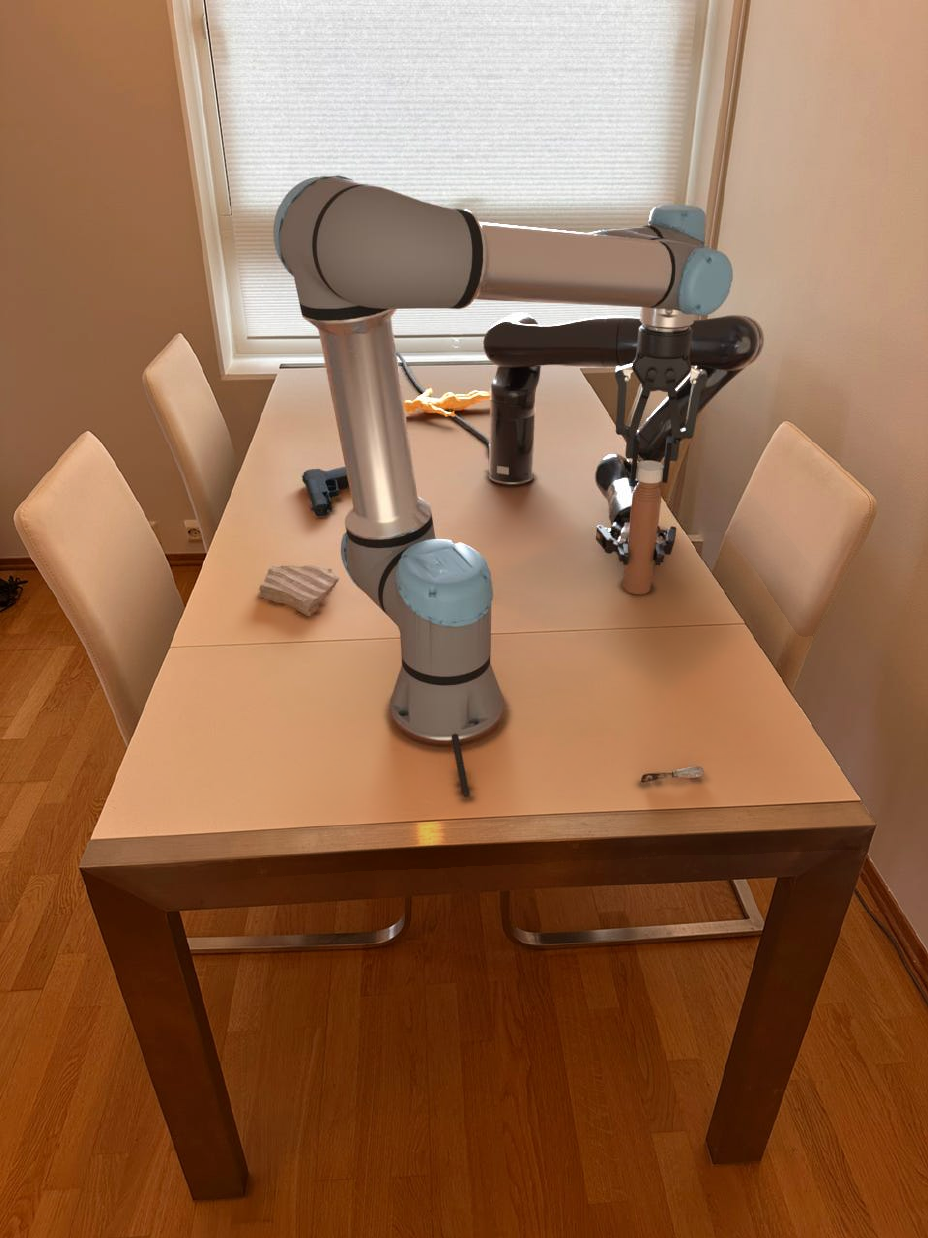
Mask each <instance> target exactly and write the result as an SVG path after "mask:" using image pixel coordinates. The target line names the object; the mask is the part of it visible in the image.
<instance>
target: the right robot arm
mask: <svg viewBox="0 0 928 1238" xmlns="http://www.w3.org/2000/svg"><path fill="white" fill-rule="evenodd" d="M641 325H642V322H641V321H640V316H638V315H637V316H634V315H605V316H595V317H590V318H584V319H583V318H582V319H579V320H574V321H569V322H565V323H559V324H553V325H551V324H550V325H540V324H539V323H538V322H537V320H536V319H535V318H534V317H532V316H531V315H530V314H528V313H526V312H525V313H524V312H514V313H512V314H510V315H507V316H505V317H503V318H502V319H500V320H498V321H497V322H496V323H494V324H493V325H491V327H489V329H488V330H487V331H486V333H485V334H484V337H483V341H482V349H483V352H484V355H485V357H486V358H487V359H488V361H490V363H491V364H493V365H495V366H497V368H496V373H495V375H494V378H493V379H492V381H491V382H490V383H491V384H490V386H489V387H490V388H489V392H490V399H489V437H488V436H486V435H484V434H483V433H482V432H480V431H479V430H478V429H476V428H475V427H473V426H472V425H471V424H469V423H468V422H467V421H465V420H464V419H462V418H461V417H460V416H458V415H457V414H455V416H454V417H452V416H451V415H449V416H450V417H452V418H453V419H454V420H456V421H457V422H459V423H460V424H461V425H463V426H464V427H466V428H467V429H468V430H470V431H471V432H472V433H473V434H474V435H476V436H477V437H479V438H480V439H481V440H483V441H484V442H485V443H486V444H487V446H488V455H489V459H488V464H489V465H488V470H489V471H488V478H489V480H490V481H491V482H493V483H495V484H499V485H503V486H521V485H525V484H528V483H529V482H531V481H533V479H534V455H535V453H534V451H535V430H536V429H535V428H536V427H535V426H536V400H537V398H536V397H537V390H538V387H539V383H540V379H541V371H542V370H541V369H542V367H543V366H544V367H545V366H562V367H574V368H593V369H594V368H595V369H596V368H597V369H616V367H617V366H622V367H624V366H627V365H630V364H632V362H633V360H634V358H635V357H636V353H637V343H638V333H639V327H641ZM690 327H691V329H692V339H691V347H690V355H689V360H690V362H691V366H692V367H694V368H696V369H698V370H701V369H704V370H706V373H707V381H706V382H705V384H704V386H703V388H702V389H701V394H700V399H699V405H698V411H697V417H696V419H697V418H698V417H699V415H700V414H701V413H702V412H703V410H704V409H705V408H706V407H707V405H709V403H710V402H711V401H712V400H713V399H714V398H715V397H716V395H718V394H719V393H720V392H721V391H722V390H723V388H724V387H726V386H727V384H729V382H731V381H732V380H733V379H734V378H736V376H738V375H739V374H740V373H741V372H743V370H745V369H746V368H747V367H750V365H752V364H753V363H754V362H756V360H757V359H759V357H760V355H761V354H762V351H763V348H764V344H765V334H764V330H763V328H762V327H761V325H760V323H758V322H757V320H755V319H754V318H752V317H749V316H747V315H742V314H730V315H724V316H720V317H719V316H718V317H712V318H704V319H694V322H693V324H692V325H690ZM396 354H397V358H399V360H400V361H401V363H402V366H403V368H404V370H405V372H406V374H407V376H408V377H409V379H410V381H412V384H413V385H415V387H416V388H417V389H418V391H419V392H421V394H423V393H425V390H426V389H424V388H423V387H422V386H421V385H420V384H419V382H418V381H417V380H416V379H415V377H414V376H413V374H412V372H411V371H410V369H409V366H408V365H407V363H406V360H405V359H404V357H403V355H401V353H400V352H398V351H396ZM691 387H692V384H691V382H690V375H689V374H688V375H687V376H686V377H685V378H684V380H683V381H682V382H681V383H680V384H679V385H678V386H677V387H676V395H677V405H678V416H679V426H680V429H682V428H685V424H686V418H687V412H688V406H689V399H690V393H691ZM428 397H429V398H433V396H431V394H429V396H428ZM445 411H446V412H452V411H451V410H448V409H447V410H445ZM636 435H640V443H639V452H638V457H640V459H641V461H656V462H660V463H661V462H662V461H663V460H664V456H665V448H666V439H667V436H669V437H672V430H671V420H670V410H669V400H668V396H666V397H665V399H664V400H663V401H662V402H661V403H659V405H658V406H657V407H656V408H655V409H653V411H652V412H651V413H650V415H649V416H648V417H646V419H645V420H644V422H643V423H642V425H641V426H640V427H638V430H637V433H636ZM631 467H632V460H630V459H628V458H626V456H623V455H621V454H619V453H609V454H606V455H605V456H603V457H602V458H601V459H600V460H599V461H598V463H597V465H596V467H595V471H594V481H595V485H596V487H597V488H598V490H599V492H600V493H601V494H602V496H603V497H604V498H605V499H606V501H607V504H608V518H609V521H610V525H611V526H610V527H605V526H604V525H603V524H597V525H596V530H595V541H596V542H597V543H598V544H599V546H600V547H601V548H602V549H603V551H604V552H605V553H606V554H609V555H610V554H613V552H614V553H616V555H617V558H618V559H617V560H618V561H619V562H620V563H622V565H623V566H625V565H628V559H629V552H628V547H627V542H628V532H629V522H630V513H631V503H632V494H633V491H634V489H635V488H636V486H637V483H638V482H639V481H638V480H637V479H636V481H631ZM677 529H678V528H677V527H676V526H672V525H671V526H669V527H668V528H667V529H663V528H661V526H660V525H658V530H657V538H656V546H655V555H654V565H655V566H656V567H659V566H661V564H663V563H664V562H665V556H668V555H669V556H670V555H672V553H673V549H674V546H675V543H676V536H677ZM661 538H662V539H661ZM663 540H664V541H663Z"/></svg>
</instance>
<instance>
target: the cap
mask: <svg viewBox="0 0 928 1238" xmlns="http://www.w3.org/2000/svg"><path fill="white" fill-rule="evenodd" d="M663 464H664V463H661V462H656V461H643V460H641V461H638V462H637V471H636V479H637V480H638V481H640V482H644V483H658V484H659V483H661V482H662V479H663V470H664V465H663Z"/></svg>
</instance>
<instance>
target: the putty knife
mask: <svg viewBox="0 0 928 1238" xmlns="http://www.w3.org/2000/svg"><path fill="white" fill-rule="evenodd" d="M704 772H705V771H704V768H702V767H701V766H697V765H695V766H688V767H683V768H679V769H675V770H673V771H671V772H653V773H652V772H651V773H650V772H649V773H644V774H642V776H641V779H640V783H642V784H645V783H648V782H653V781H659V780H665V779H668V778H673V779H674V778H675V779H693V778H694V779H695V778H700V777H702V776H703V775H704Z"/></svg>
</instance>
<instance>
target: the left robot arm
mask: <svg viewBox="0 0 928 1238" xmlns="http://www.w3.org/2000/svg"><path fill="white" fill-rule="evenodd" d="M706 222H707V214H706V213H705V211H704V210H703V208H700V207H698V206H695V205H686V204H663V205H658V206H655V207H653V208H652V209H651V210H650V214H649V220H648V221H647V225H644V226H639V227H638V226H637V227H627V228H617V229H616V228H614V229H604V228H603V229H599V230H597V231H592V232H586V233H585V232H577V231H567V230H558V229H551V228H550V229H549V228H541V227H531V226H530V227H529V226H519V225H511V224H502V223H501V224H500V223H490V222H483V221H480V220H479V219H478V217H477V215H476V214H474V212H472V211H471V210H468V209H463V208H453V207H448V206H447V207H446V206H442V205H438V204H434V203H431V202H428V201H424V200H421V199H418V198H415V197H413V196H409V195H407V194H403V193H401V192H398V191H395V190H393V189H390V188H387V187H384V186H379V185H373V184H369V183H366V182H361V181H357V180H353V179H351V178H349V177H346V176H343V175H318V176H313V177H309V178H307V179H305V180H302V181H300V182H298V183H297V184H296V185H294V186H293V187H292V188H291V189H290V190H289V191H288V192H287V193H286V194H285V196H284V197H283V198H282V201H281V202H280V204H279V205H278V208H277V209H276V212H275V216H274V221H273V229H272V231H273V232H272V235H273V244H274V248H275V251H276V254H277V257H278V259H279V260H280V262H281V263H282V266H283V267H284V269H285V270H286V271H287V272H288V273H289V275H291V276H292V277H293V280H294V285H295V288H296V293H297V298H298V299H297V300H298V303H299V308H300V314H301V317H302V319H304V320H305V321H307V322H308V323H310V324H311V325H312V326H314V327H315V328H316V329H317V331H318V335H319V340H320V346H321V351H322V356H323V361H324V367H325V370H326V371H325V372H326V376H327V381H328V385H329V391H330V395H331V397H330V398H331V401H332V406H333V411H334V418H335V421H336V427H337V432H338V438H339V442H340V448H341V452H342V456H343V463H344V467H345V468H346V473H347V478H348V483H349V488H348V489H349V493H350V497H351V502H352V508H350V510H349V511H348V512H347V514H346V515H345V518H344V526H345V533H343V535H342V537H341V538H342V539H341V541H340V556H341V561H342V564H343V567H344V569H345V571H346V572H347V574H348V576H349V578H350V579H351V581H352V582H353V584H355V586H356V587H357V588H358V589H360V590H361V591H362V592H363V593H364V594H365V595H366V596H367V597H368V598H369V599H370V600H371V601H372V602H374V604H375V605H376V606H377V607H378V608H379V609H380V610H381V611H382V612H383V613H384V614H385V615H386V616H387V617H388V618H389V619H390V620H391V621H392V622H393V623H394V624H395V625H396V626H397V628H398V631H399V633H400V634H399V635H400V652H401V653H400V655H401V667H400V669H399V672H398V675H397V678H396V681H395V684H394V687H393V690H392V693H391V696H390V700H389V706H390V718H391V721H392V724H393V725H394V727H395V728H396V729H397V731H398V732H399V733H400V734H402V735H403V736H404V737H406V738H407V739H409V740H411V741H413V742H415V743H417V744H420V745H421V744H422V745H425V746H430V747H437V748H453V752H454V753H453V754H454V757H455V758H454V759H455V764H456V769H457V774H458V779H459V784H460V789H461V795H462V797H463V798H469V797H470V795H471V792H470V788H469V783H468V779H467V774H466V769H465V764H464V763H465V762H464V758H463V752H462V747H463V746H467V745H471V744H473V743H476V742H480V741H481V740H483V739H485V738H486V737H488V736H489V735H491V734H492V733H493V732H494V731H495V730H496V729H498V727H499V726H500V724H501V722H502V720H503V717H504V696H503V693H502V690H501V687H500V685H499V682H498V679H497V677H496V674H495V672H494V668H493V666H492V664H491V654H492V653H491V651H492V649H491V648H492V647H491V645H492V602H493V599H494V590H493V589H494V588H493V583H492V574H491V568H490V565H489V563H488V561H487V560H486V558H485V557H484V556H483V555H482V554H481V553H480V552H479V551H478V550H476V549H475V548H473V547H472V546H470V545H468V544H466V543H464V542H458V543H454V541H453V540H452V539H443V538H438V539H437V537H436V533H435V527H434V519H433V514H432V512H433V511H432V508H431V505H430V503H428V502H427V500H425V499H423V498H422V497H420V496H418V489H417V483H416V477H415V470H414V463H413V456H412V450H411V442H410V435H409V430H408V422H407V416H406V412H405V408H404V401H405V400H404V396H403V390H402V389H403V388H402V382H401V376H400V369H399V368H400V367H399V363H398V356H397V354H396V352H397V349H396V342H395V341H396V340H395V335H394V328H393V321H392V318H393V316H394V314H395V313H396V312H397V310H410V309H412V310H413V309H416V310H417V309H434V310H435V309H438V310H439V309H440V310H441V309H443V310H444V309H445V310H446V309H448V310H463V309H466V308H467V307H469V306H470V305H471V304H472V303H473V302H474V301H476V300H478V301H496V302H497V301H499V302H518V303H519V302H521V303H541V304H543V303H544V304H563V305H565V304H566V305H587V306H588V305H589V306H607V307H610V306H611V307H631V308H632V307H633V308H640V314H639V317H640V321H641V322H642V325H641V327H639V333H638V343H637V353H636V357H635V358H634V360H633V362H632V364H630V365H627V366H624V367H622V366H617V367H616V368H614V378H615V382H616V383H617V403H616V420H615V434H616V435H617V436H623V437H625V438H626V443H625V456H624V457H625V458H626V459H627V460H631V462H632V467H631V481H636V471H637V463H638V462H639V461H638V460H639V455H638V452H639V443H640V435H636V433H637V431H638V429H639V428H640V427H639V426H640V424H641V421H642V419H643V415H644V413H645V408H646V406H647V403H648V400H649V398H650V395H651V392H658V391H660V392H663V393H667V397H668V400H669V410H670V420H671V430H672V437H669V436H667V439H666V448H665V456H664V458H663V463H662V464H663V465H664V470H663V479H662V481H661V482H662V484H668V481H669V472H670V465H671V462H677V461H678V459H679V452H680V445H681V443H682V441H683V440H686V439H688V440H690V439H691V440H692V438H693V437H694V435H695V427H696V422H697V418H698V416H697V411H698V405H699V399H700V394H701V389H702V388H703V386H704V384H705V382H706V381H707V373H706V370H704V369H701V370H698V369H696V368H695V366H691V362H690V360H689V355H690V347H691V339H692V329H691V327H690V325H692V324H693V322H694V320H695V316H697V317H698V316H699V317H705V316H709V315H711V314H714V313H715V312H716V311H717V310H719V309H720V308H721V307H722V306H723V304H724V303H725V302H726V300H727V298H728V296H729V294H730V291H731V287H732V282H733V279H734V273H733V272H734V271H733V265H732V263H731V261H730V259H729V257H728V256H727V255H726V254H725V253H724V252H722V251H720V250H718V249H715V248H710V246H707V245H705V244H706V226H707V224H706ZM632 373H634V374H635V376H636V378H637V380H638V381H639V383H640V385H641V386H640V389H639V394H638V397H637V399H636V403H635V406H634V409H633V412H632V414H631V418H630V421H629V424H628V425H626V424H625V419H626V418H625V416H626V415H625V414H626V403H627V401H626V400H627V384H628V383H627V382H629V381H630V380H631V375H632ZM688 375H690V382H691V384H692V387H691V393H690V399H689V406H688V412H687V418H686V424H685V428H682V429H680V426H679V416H678V405H677V395H676V388H677V387H678V386H679V385H680V384H681V383H682V382H683V381H684V380H685V379H686V378H687V377H688ZM696 417H697V418H696Z"/></svg>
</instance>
